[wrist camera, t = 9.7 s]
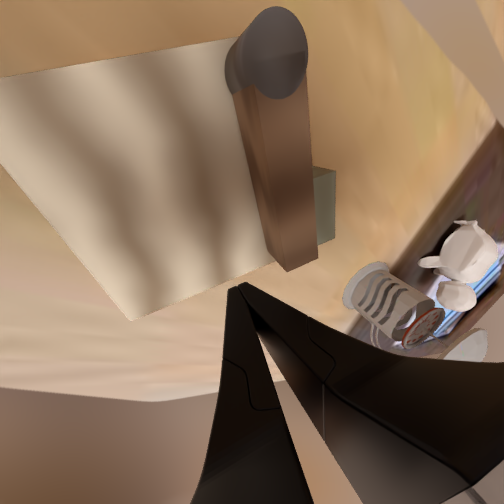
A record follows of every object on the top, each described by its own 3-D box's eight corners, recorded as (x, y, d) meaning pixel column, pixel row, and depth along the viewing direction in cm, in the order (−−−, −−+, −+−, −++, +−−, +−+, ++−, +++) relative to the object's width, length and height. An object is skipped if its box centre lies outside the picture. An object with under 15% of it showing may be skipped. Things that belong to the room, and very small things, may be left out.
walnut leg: (217, 43, 13) (237, 13, 10) (269, 32, 14) (305, 0, 10) (265, 252, 22) (285, 273, 18) (296, 239, 22) (320, 257, 19)
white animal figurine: (428, 218, 39) (408, 297, 38) (498, 216, 32) (474, 314, 31) (445, 232, 43) (427, 304, 43) (509, 234, 36) (488, 320, 35)
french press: (397, 271, 37) (682, 435, 17) (356, 320, 40) (559, 511, 20) (370, 253, 32) (733, 459, 12) (325, 311, 35) (557, 558, 15)
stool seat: (132, 307, 22) (125, 358, 17) (-32, 94, 12) (-162, 68, 7) (301, 239, 26) (334, 263, 21) (282, 37, 16) (337, -5, 11)
